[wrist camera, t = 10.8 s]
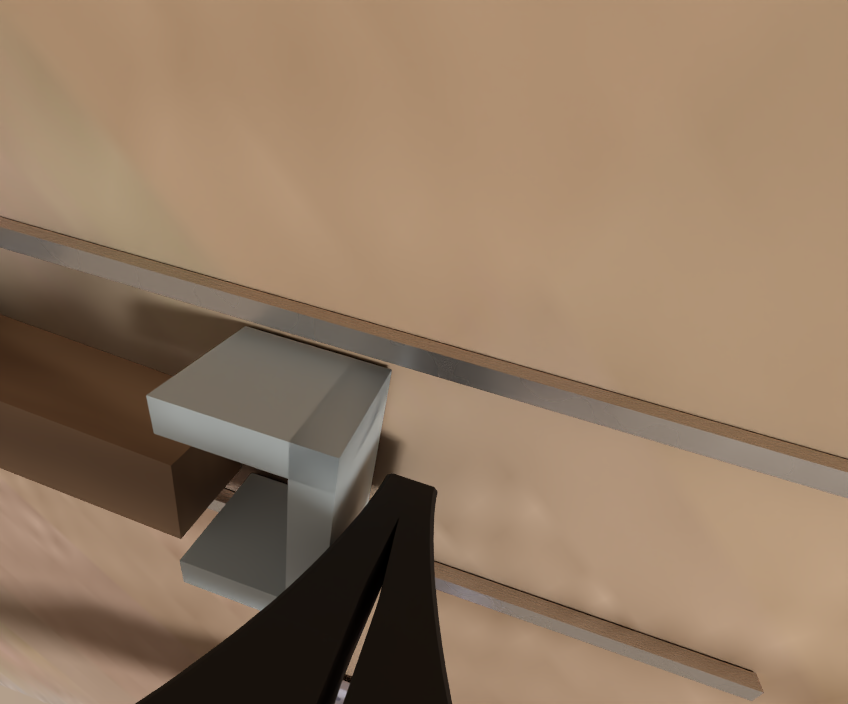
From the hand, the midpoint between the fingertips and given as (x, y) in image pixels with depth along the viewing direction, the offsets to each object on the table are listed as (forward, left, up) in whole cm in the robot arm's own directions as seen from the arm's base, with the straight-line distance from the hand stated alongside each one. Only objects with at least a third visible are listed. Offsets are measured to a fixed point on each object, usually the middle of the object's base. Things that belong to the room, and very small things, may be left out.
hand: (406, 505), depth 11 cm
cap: (0, +3, -1) cm, 4 cm away
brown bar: (-1, +11, -2) cm, 11 cm away
